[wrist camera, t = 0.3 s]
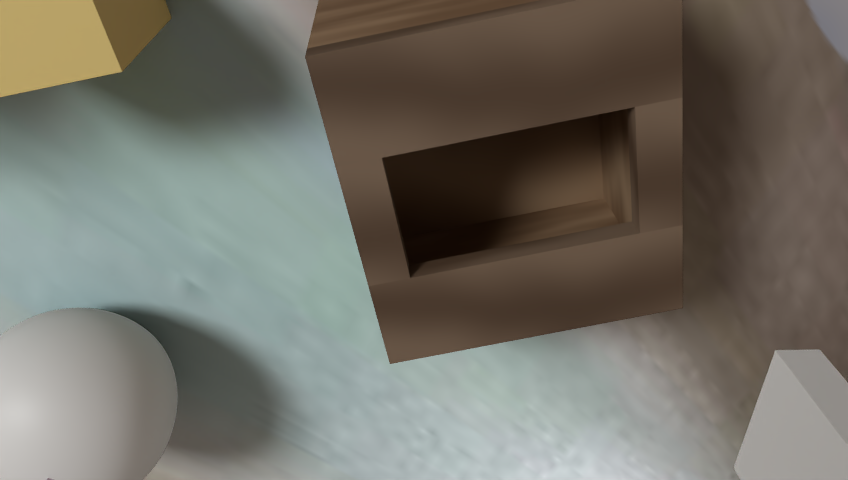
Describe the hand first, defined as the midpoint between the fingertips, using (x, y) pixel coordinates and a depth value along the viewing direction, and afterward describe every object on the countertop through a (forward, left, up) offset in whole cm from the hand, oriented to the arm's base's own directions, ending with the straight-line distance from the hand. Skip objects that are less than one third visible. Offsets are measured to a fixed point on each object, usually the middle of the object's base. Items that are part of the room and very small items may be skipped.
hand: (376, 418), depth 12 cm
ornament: (+15, -19, -26) cm, 36 cm away
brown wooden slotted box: (+5, +5, -26) cm, 27 cm away
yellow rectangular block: (-4, -12, -26) cm, 29 cm away
